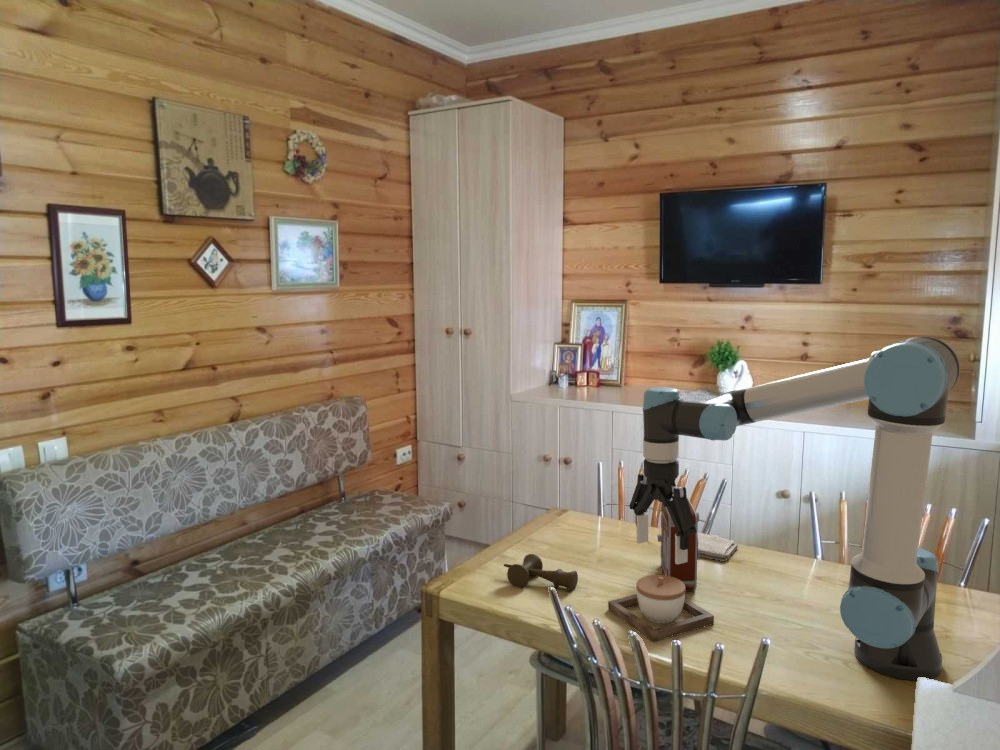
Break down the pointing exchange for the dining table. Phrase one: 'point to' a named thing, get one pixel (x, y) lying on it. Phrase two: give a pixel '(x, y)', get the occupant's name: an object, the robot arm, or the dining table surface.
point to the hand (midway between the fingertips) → (661, 552)
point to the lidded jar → (660, 597)
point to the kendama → (539, 574)
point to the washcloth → (715, 547)
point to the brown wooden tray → (662, 632)
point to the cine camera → (667, 539)
